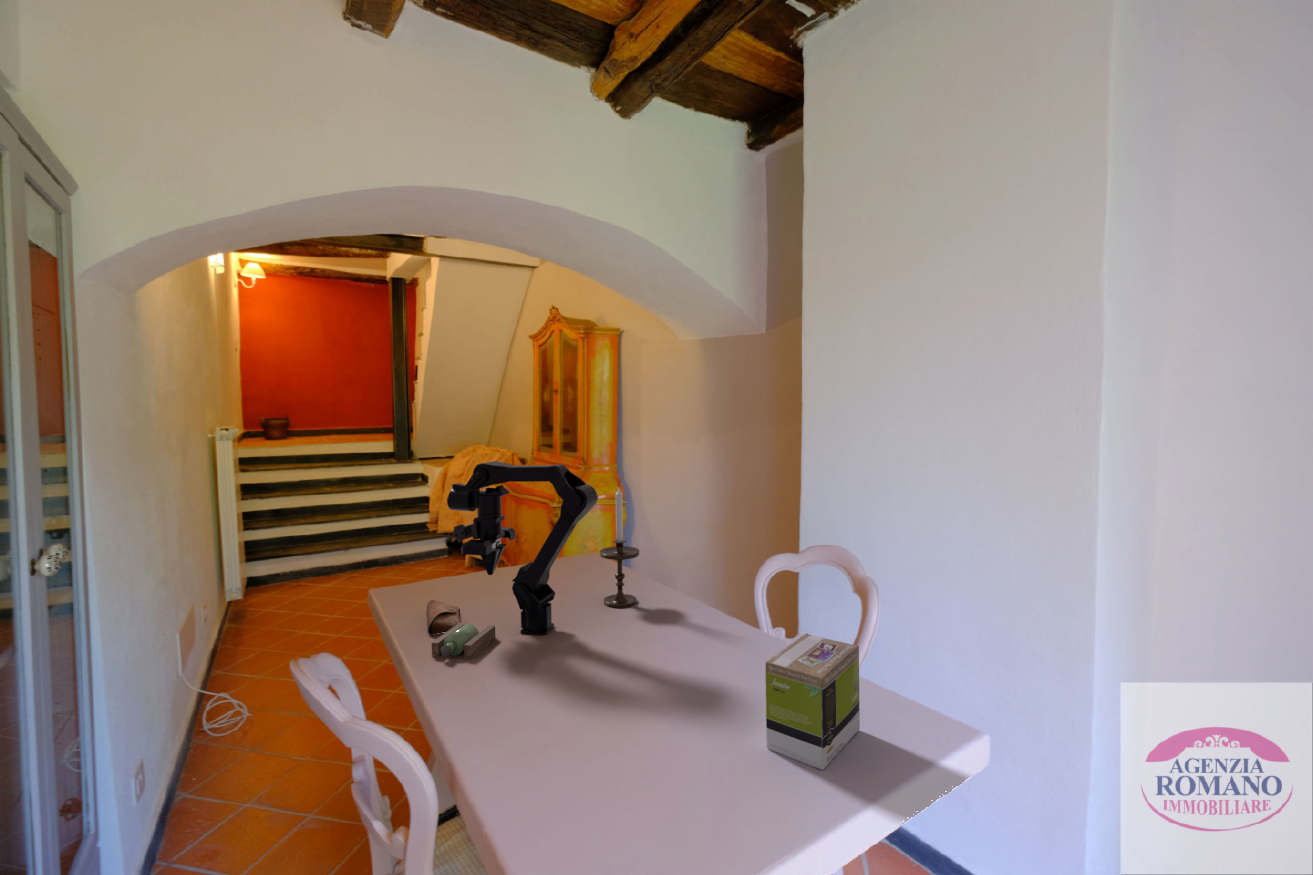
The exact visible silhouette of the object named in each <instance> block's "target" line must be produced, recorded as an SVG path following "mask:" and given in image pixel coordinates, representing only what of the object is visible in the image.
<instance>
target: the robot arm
mask: <svg viewBox="0 0 1313 875" xmlns="http://www.w3.org/2000/svg"><path fill="white" fill-rule="evenodd" d="M509 482H510V483H511V482H513V483H514V482H515V483H516V482H526V483H528V482H530V483H531V482H533V483H534V482H549V483H550V484H551V485H552V486H553V489H554V490H555V492H556V494H557V495H558V496H559V498H560V499H561V500H562V503H561V505H560V512H559V517H558V519H557V521H556V522H555V524H554V526H553V528H552V529H551V531H550V533H549V534H548V536H547V538H546V540H545V541H544V543H543V544H542V546H541V548H540V549H539V551H538V553H537V555H536V556H535V558H534V560H533V561H530V562H528V563H526V564H525V565H523V566H521V567H519V569H518V571H517V574H516V576H515V577H514V578H513V579H511V580H512V582H513V583H512V587H511V590H512V593H513V595H514V597H515V599H516V602H517V604H518V608H519V610H521V611H520V628H521V629H520V631H519V632H520V634H528V635H529V634H531V635H542V636H543V635H544V636H545V635H547V634H548V633H549V632H550V631H551V629H552V628H554V627H555V623H553V622H552V618H553V617H552V603H551V602H552V601H554V599H555V596H556V591H554V589H553V588H552V587H551V586H550V585H549V584H548V582H549V580H550V571H551V568H552V566H553V565H554V563H555V561H556V559H557V558H558V556H559V554H560V553H561V551H562V549H563V548H564V547H565V544H566V543H567V541H568V540H569V538H570V536H571V534H572V532H573V531H574V529H575V527H576V526H577V524H578V523H579V522H581V520H582V519H583V518H584V517H586V515H587V514H588V513H589V512H590V511H591V510H592V508H594V507H595V505H597V503H598V499H599V497H598V493H597V491H596V489H595V487H593V486H591V485H590V484H587V483H586V482H585V481H584V480H583V479H582V478H580V477H579V476H578V475H576V474H575V473H573V472H571V470H570V469H569V468H568V467H567V466H565V465H564V464H562V463H558V464H552V465H551V464H549V465H547V464H544V465H543V464H538V465H532V464H531V465H527V464H526V465H515V464H510V463H507V462H503V461H496V460H493V461H488V462H482V463H478V464H476V466H474V468H473V471H472V475H471V476H470V477H469V479H468V481H467V482H466V484H464V483H459V482H457V483H453V484H452V485H451V486H452V488H451V490H450V491H449V493H448V496H447V498H446V502H447V506H448V509H449V510H451V511H457V512H459V511H460V512H475V511H476V510H477V516H476V517H474V518H473V520H472V523H469V524H468V525H464V524H463V523H461V524H457V525H456V526H454V527H453V531H452V532H453V533H452V537H453V538H455V540H457V542H458V543H461V542H463V541H465V540H467V541H465V542H464V543H463V544H462V545H461V555H463V556H465V555H467V556H480V558H481V559H482V560H481V561H482V563H483V565H484V568H485V571H486V573H487V575H488V576H493V575H494V573H495V571H496V568H497V566H498V563H499V561H500V559H501V557H502V555H503V553H504V550H505V549H506V547H507V543H506V544H505V543H502V541H501V540H502V539H508V540H509V541H513V540H515V539H516V530H515V528H513V527H507V526H506V527H502V525H503V524H502V521H504V520H505V515H504V514H502V496H506V495H508V494H510V491H509V490H508V489H507V488H506V487H505V486H504V485H503V484H504V483H509ZM498 484H499V485H498ZM494 485H497V486H496V487H490V486H494ZM481 489H483V490H481ZM468 539H469V540H468Z"/></svg>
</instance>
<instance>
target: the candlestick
mask: <svg viewBox="0 0 1313 875" xmlns="http://www.w3.org/2000/svg"><path fill="white" fill-rule="evenodd" d="M616 481H617V482H616V483H617V491H616V492H615V540H613V541H612V542H611V543H614V544H615V546H608V547H604V548H602V549H600V550H599V556H600V558H602V559H606V560H611V561H612V560H614V561H616V563H617V567H616V568H617V569H616V570H617V571H616V573H615V574H614V578H615V579H616V583H615V586H616V587H617V593H615V594H611V595H608V596H606V597H604V598H603V605H604V606H606V607H609V608H614V609H623V608H630V607H633V606H635V605H636V604H637V598H636V596H635V595H632V594H627V593H624V592H623V587H624V586H625V583H624V582H623V580H624V579H625V577H626V574H625V573H623V561H626V560H630V559H634V558H637V557H638V556H640V549H639V548H637V547H635V546H625V545H624V543H627V541H628V540H624V527H623V525H624V524H623V522H624V521H623V520H624V518H623V514H624V513H623V511H624V509H623V508H624V507H623V506H624V504H623V502H624V501H623V492H622V491H621V488H620V487H621V481H620V479H619V476H617V478H616Z"/></svg>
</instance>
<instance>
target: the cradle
mask: <svg viewBox="0 0 1313 875" xmlns="http://www.w3.org/2000/svg"><path fill="white" fill-rule="evenodd" d="M465 624H466V623H463V622H461V623H458V624H457V625H456V626H454V627H453V628H451V629H450V630H449V631H447V632H446V633H443V634H441V635H440V636H439V637H437V638H436V639H434V640H433V641H432V642H431V656H432V657H440V656H442V654H441V652H440V649H441V647H442V646H444V640H445V638H446V637H447V636H449V635H450V634H452V633H453V632H455V631H456V630H458V629H459V628H461V627H462V626H464V625H465ZM478 633H479V634H477V635H476V636H475V637H473V638H472V639H471V640H470V641H468V642H467V643H466V644H465V645H464V651H463V654H464V655H463V656H464V659H466V660H471V659H473V658H474V657H475V656H476V655H478V654H479V653H480V652H481V651H482V650H483V649H485V648H486V645H487V644H488V645H490V643H491V642H492V641H494V640H495V639H496V625H495V624H488V625H487V626H486V627H485V628H483V629H482V630H481V631H479V632H478ZM488 645H487V646H488Z"/></svg>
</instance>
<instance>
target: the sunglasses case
mask: <svg viewBox="0 0 1313 875" xmlns="http://www.w3.org/2000/svg"><path fill="white" fill-rule="evenodd" d="M426 622H427V623H426V624H427V625H426V626H427V632H428V634H429V635H430V636H432V635H431V634H436V635H438V634H437V633H442V632H447V631H449V630H450V629H451V628H453V627H454V626H456V625H457V624H458V623H462V621H461V619H460V607H458V606H455V605H451V604H446V603H444V602H441V601H439V600H436V599H431V600H430V601H429V602H428V603H427V605H426Z"/></svg>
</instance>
